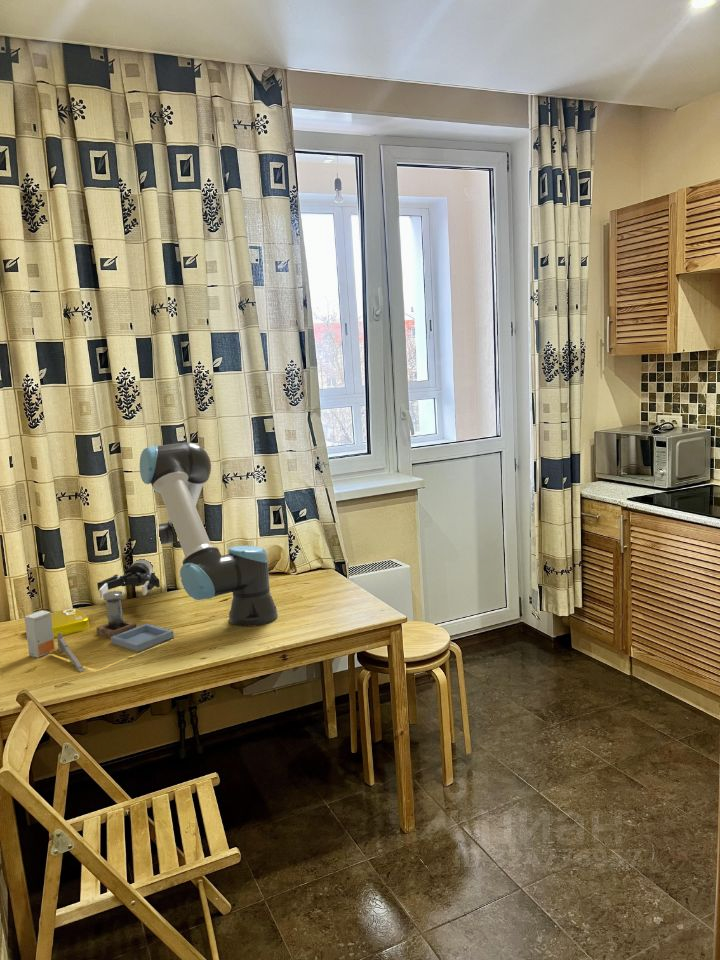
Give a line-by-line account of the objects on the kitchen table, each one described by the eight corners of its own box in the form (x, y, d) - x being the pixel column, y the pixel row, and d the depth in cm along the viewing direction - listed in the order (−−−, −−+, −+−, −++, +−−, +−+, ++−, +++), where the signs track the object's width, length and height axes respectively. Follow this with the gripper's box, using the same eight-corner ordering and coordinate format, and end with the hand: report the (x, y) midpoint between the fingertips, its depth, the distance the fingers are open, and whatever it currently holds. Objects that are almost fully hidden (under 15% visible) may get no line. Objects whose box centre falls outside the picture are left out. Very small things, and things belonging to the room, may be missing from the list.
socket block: (136, 631, 229) (136, 623, 229) (113, 640, 223) (112, 632, 223) (120, 626, 235) (119, 619, 234) (97, 635, 228) (96, 627, 228)
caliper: (58, 652, 217) (55, 631, 216) (62, 651, 218) (59, 630, 217) (80, 673, 201) (77, 651, 200) (84, 672, 202) (81, 650, 201)
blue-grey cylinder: (130, 630, 229) (125, 592, 227) (114, 636, 225) (109, 597, 223) (119, 627, 233) (115, 589, 231) (103, 633, 228) (99, 595, 226)
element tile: (30, 631, 237) (28, 617, 236) (78, 619, 245) (76, 605, 244) (41, 644, 225) (39, 629, 224) (91, 631, 233) (90, 617, 232)
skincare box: (38, 658, 213) (32, 618, 211) (28, 656, 215) (23, 616, 213) (56, 650, 218) (51, 611, 216) (47, 648, 220) (42, 609, 218)
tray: (173, 638, 222) (173, 631, 221) (137, 653, 212) (136, 645, 212) (147, 630, 230) (146, 623, 229) (111, 644, 220) (110, 637, 219)
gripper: (176, 581, 259) (162, 601, 238) (104, 585, 258) (84, 606, 237) (174, 560, 258) (160, 578, 237) (101, 564, 257) (81, 583, 236)
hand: (122, 592), depth 237 cm, fingers open, 13 cm apart
